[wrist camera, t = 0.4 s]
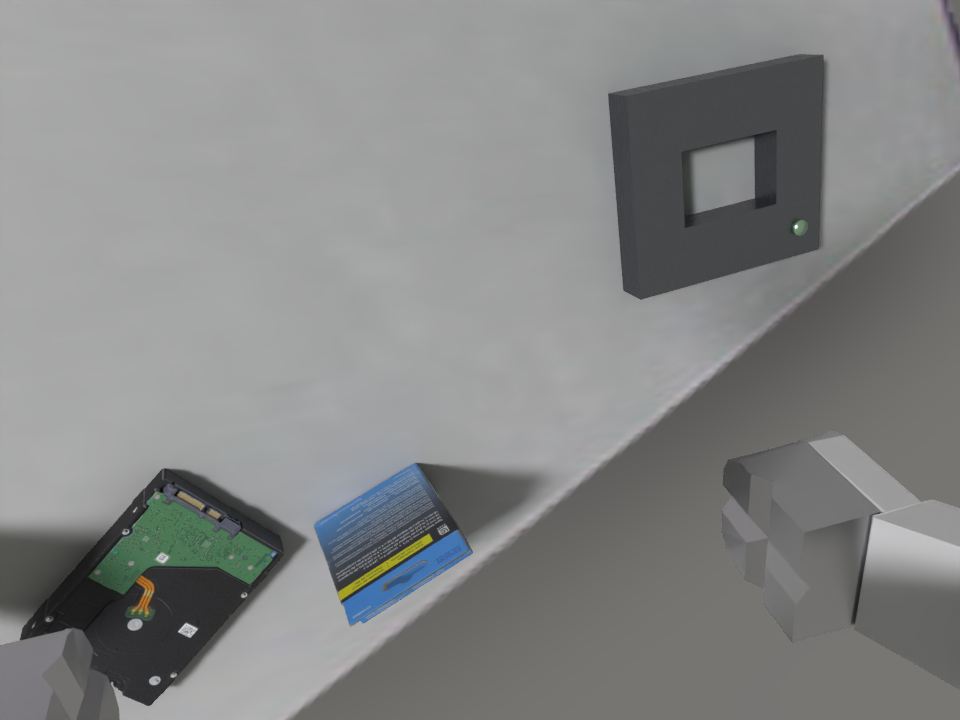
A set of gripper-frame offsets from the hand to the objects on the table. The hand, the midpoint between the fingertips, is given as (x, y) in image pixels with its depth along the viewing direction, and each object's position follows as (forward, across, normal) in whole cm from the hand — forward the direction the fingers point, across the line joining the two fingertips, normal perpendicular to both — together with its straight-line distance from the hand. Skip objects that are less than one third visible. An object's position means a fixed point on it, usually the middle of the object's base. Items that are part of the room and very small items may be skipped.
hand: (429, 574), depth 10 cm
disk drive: (+40, +17, +32) cm, 54 cm away
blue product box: (+42, +1, +32) cm, 52 cm away
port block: (+47, -29, +13) cm, 57 cm away
